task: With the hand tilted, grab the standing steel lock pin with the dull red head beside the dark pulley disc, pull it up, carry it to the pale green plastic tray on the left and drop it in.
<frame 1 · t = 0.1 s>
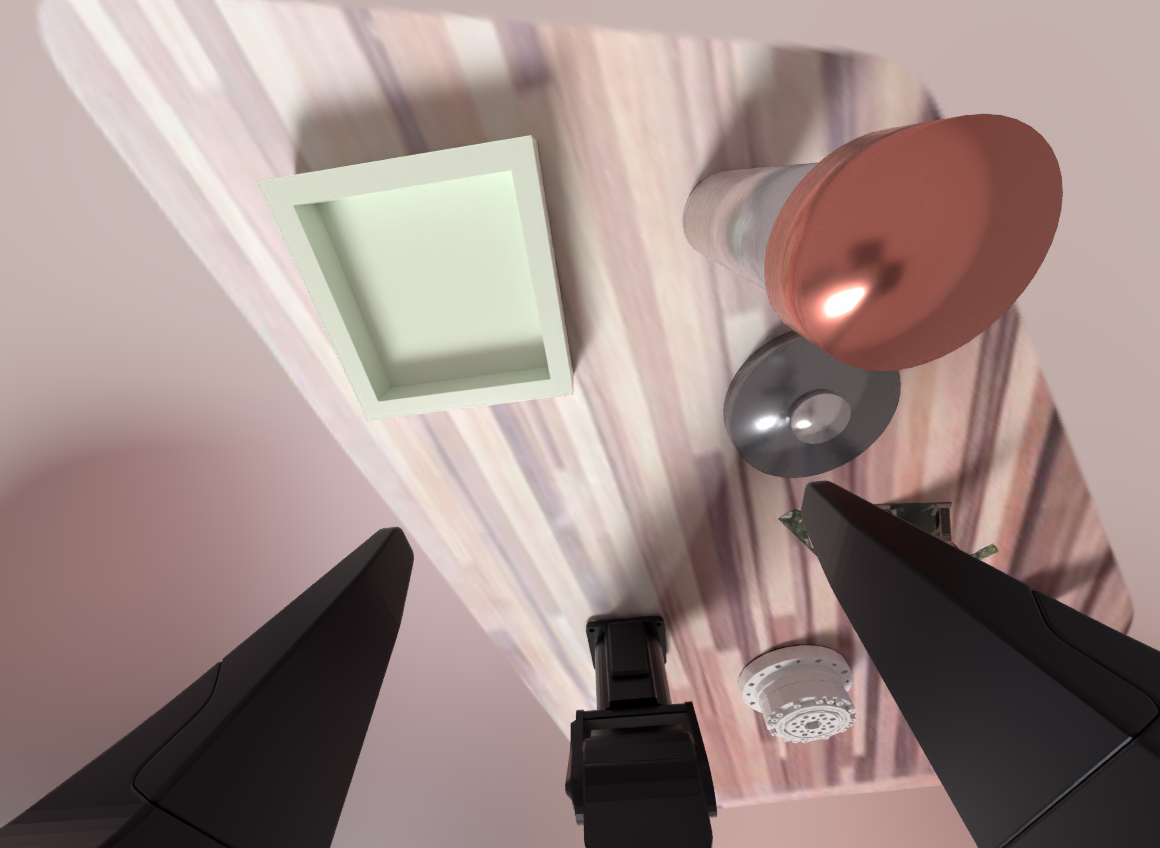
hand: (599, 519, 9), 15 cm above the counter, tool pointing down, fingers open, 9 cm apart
tray: (450, 289, 21), on the counter
eiffel tower figurine: (884, 526, 30), on the counter
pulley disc: (801, 400, 24), on the counter
mechanical component: (789, 670, 39), on the counter
lock pin: (721, 215, 19), on the counter
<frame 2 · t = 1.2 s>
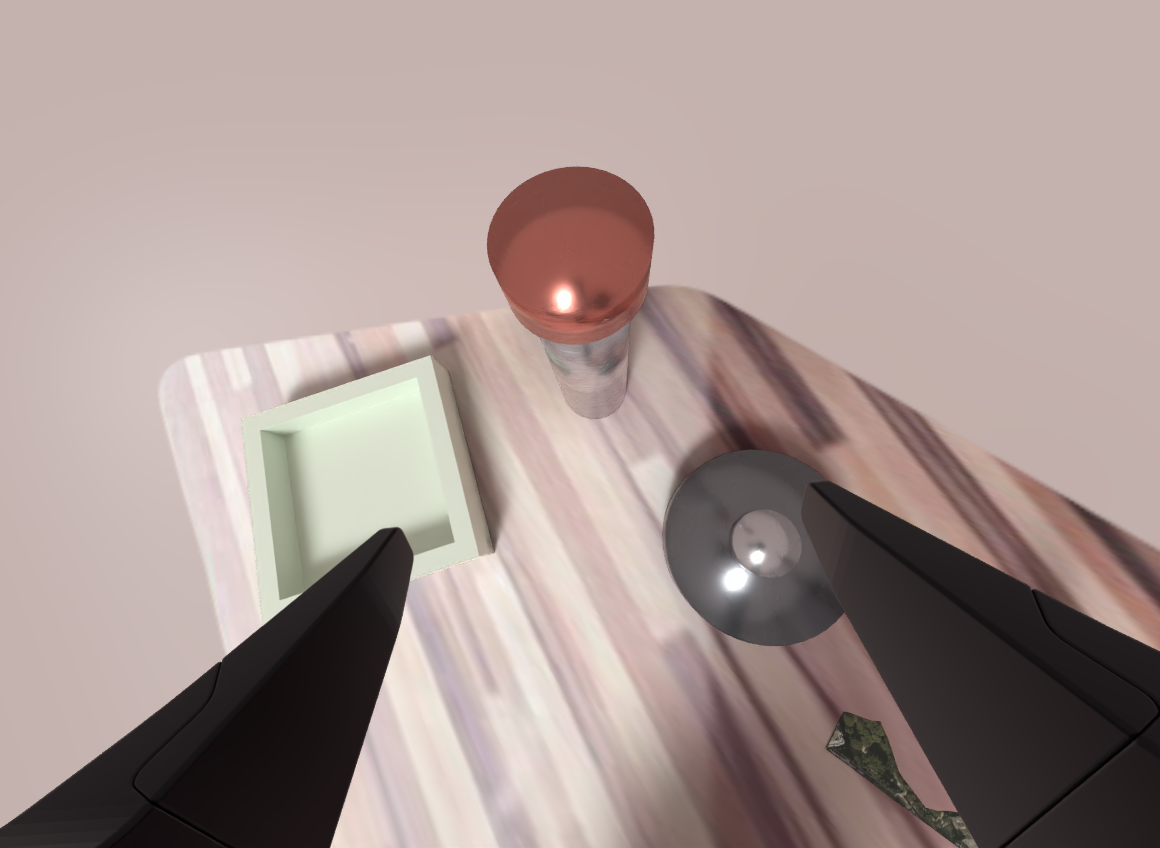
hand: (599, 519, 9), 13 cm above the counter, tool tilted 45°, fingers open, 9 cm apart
tray: (379, 487, 24), on the counter
eiffel tower figurine: (1018, 750, 19), on the counter
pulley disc: (751, 541, 21), on the counter
lock pin: (594, 388, 24), on the counter
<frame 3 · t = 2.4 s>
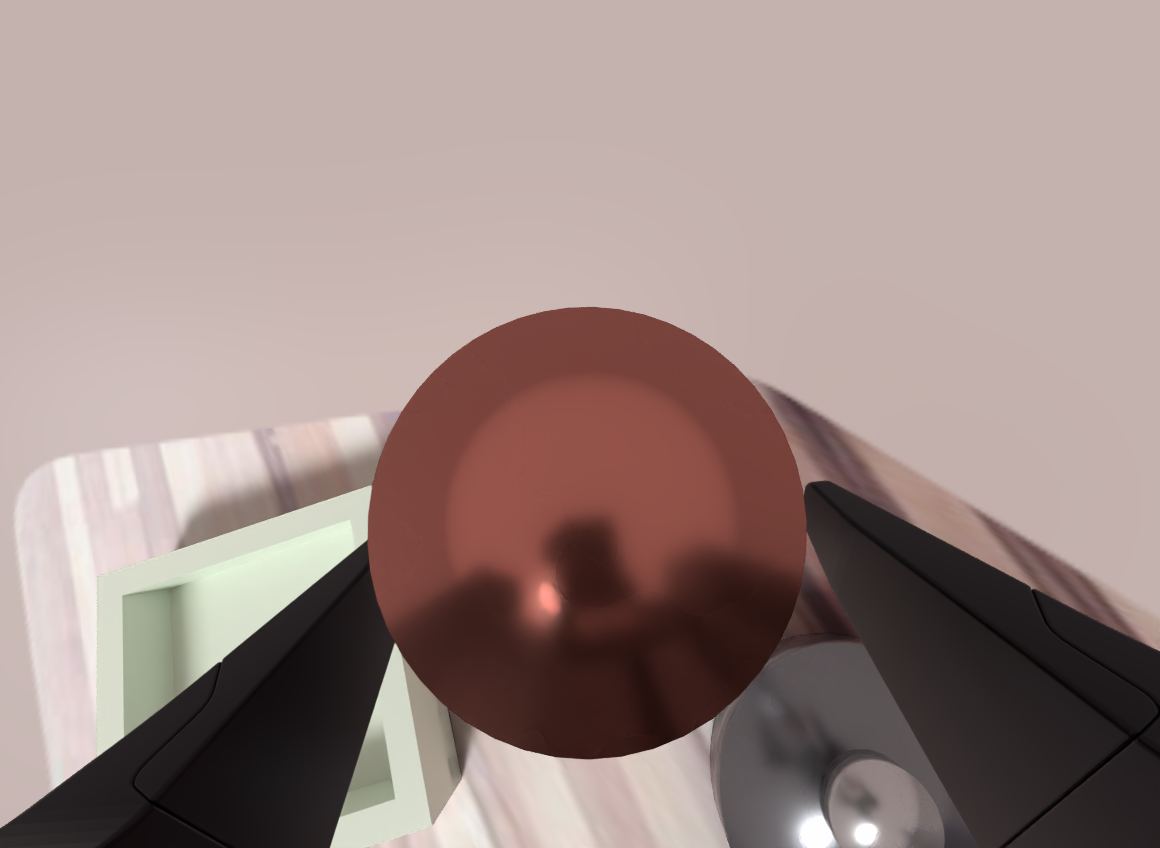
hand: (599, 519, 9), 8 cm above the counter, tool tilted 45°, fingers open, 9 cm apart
tray: (301, 665, 17), on the counter
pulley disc: (845, 777, 14), on the counter
lock pin: (607, 522, 17), on the counter
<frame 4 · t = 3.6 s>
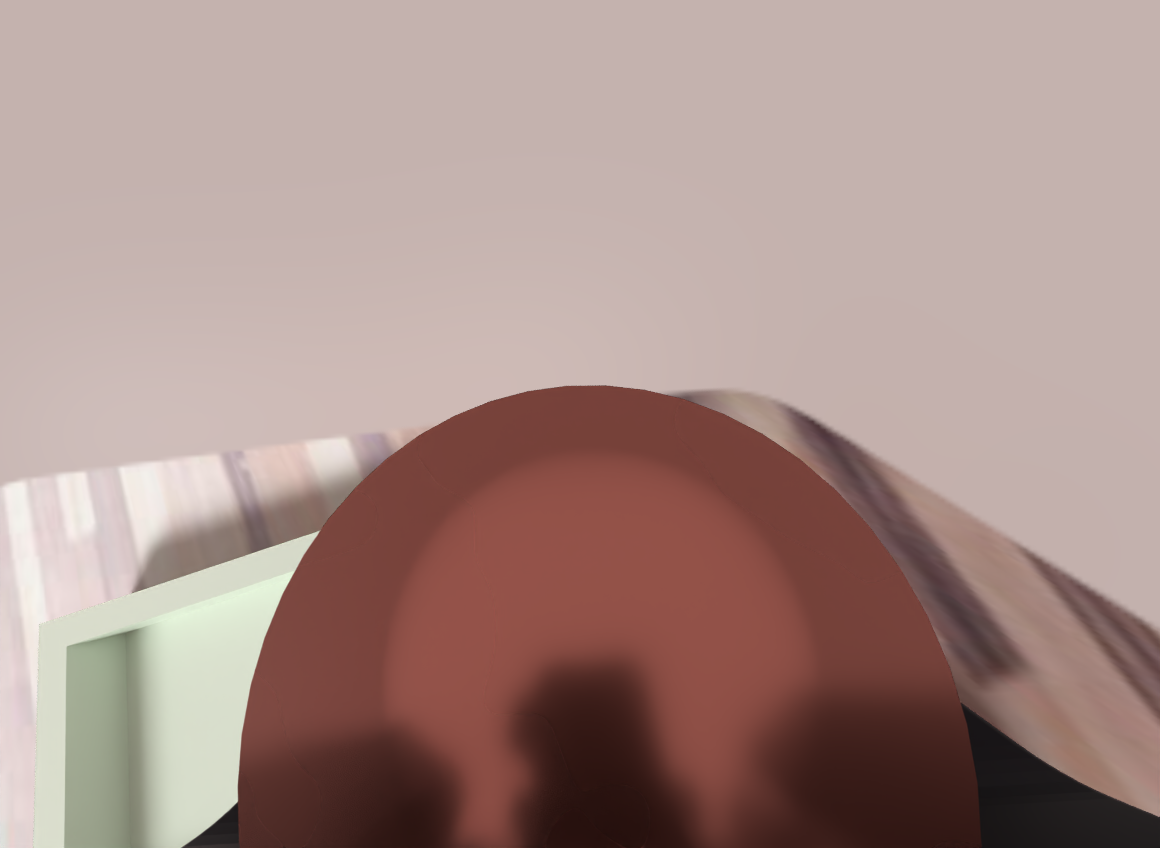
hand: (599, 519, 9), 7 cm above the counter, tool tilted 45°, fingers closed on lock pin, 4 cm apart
tray: (270, 718, 15), on the counter
lock pin: (610, 560, 15), on the counter, touching gripper
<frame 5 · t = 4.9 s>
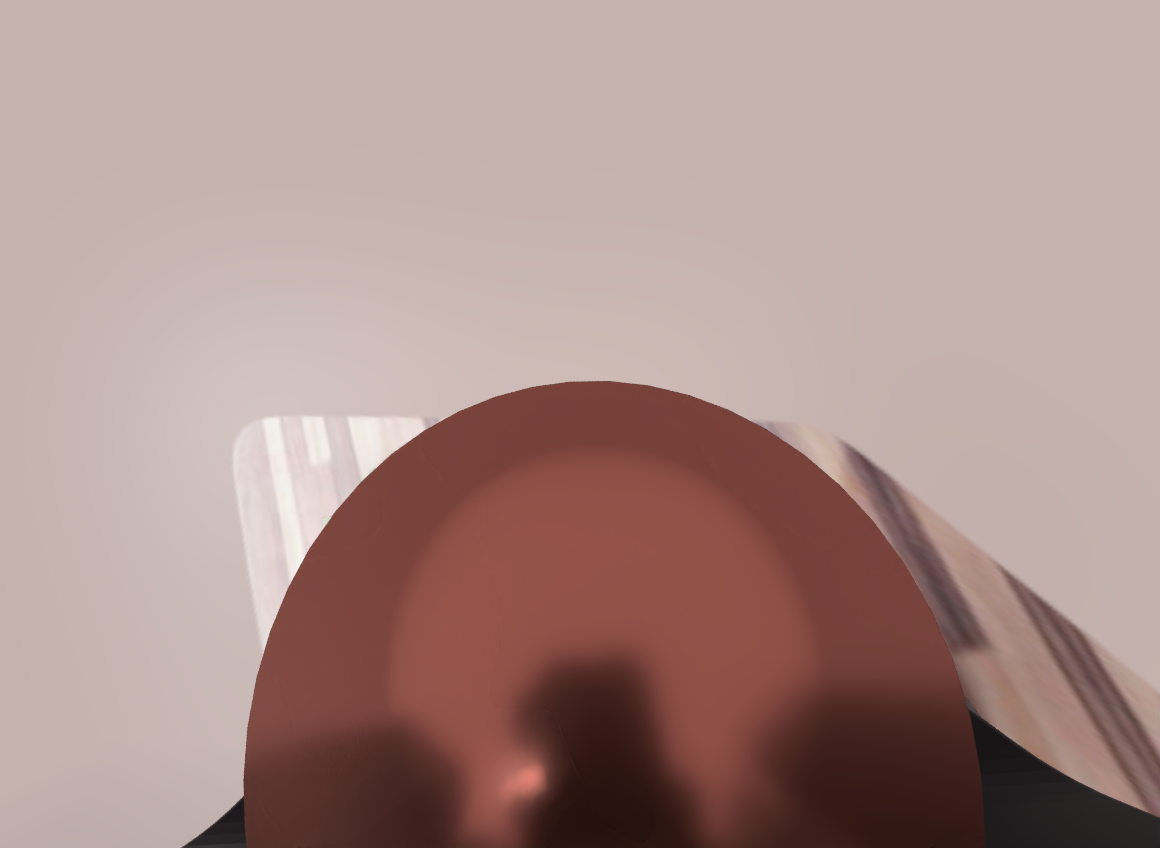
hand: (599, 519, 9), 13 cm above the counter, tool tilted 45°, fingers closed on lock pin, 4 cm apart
lock pin: (611, 559, 15), point 7 cm above the counter, touching gripper
when the fingers open (9 cm above the counter, at t = 6.6 s): lock pin drops 1 cm, resting on tray.
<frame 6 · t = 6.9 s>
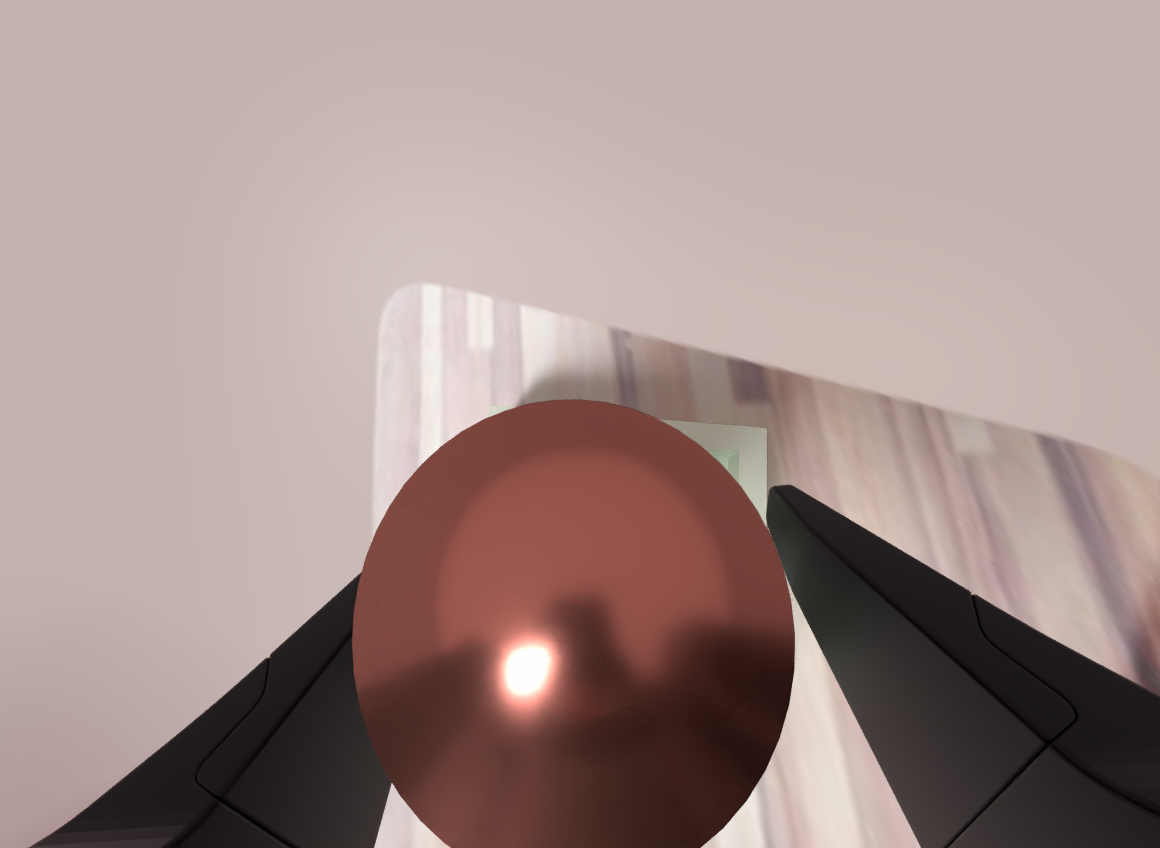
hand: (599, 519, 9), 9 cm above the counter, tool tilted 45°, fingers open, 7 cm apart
tray: (612, 555, 18), on the counter
lock pin: (612, 560, 17), point 1 cm above the counter, touching tray
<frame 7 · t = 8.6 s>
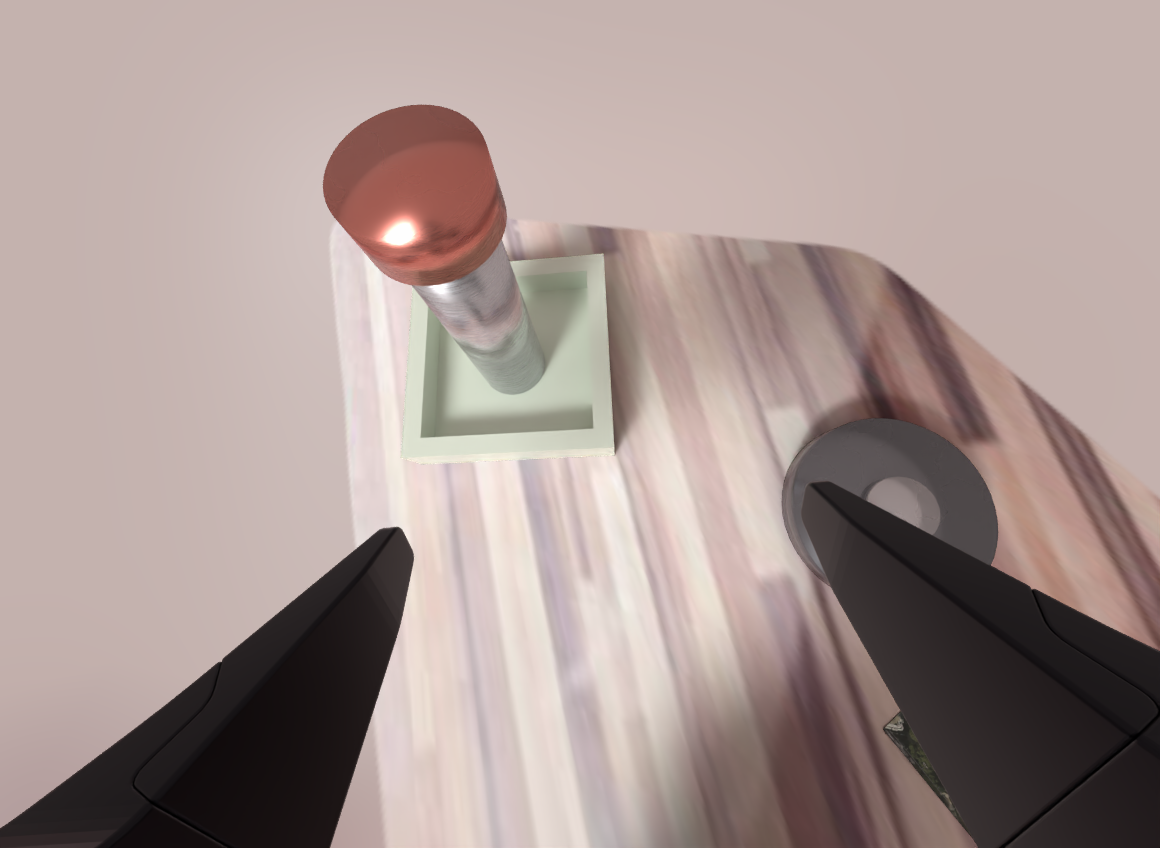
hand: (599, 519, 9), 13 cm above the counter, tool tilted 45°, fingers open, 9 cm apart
tray: (517, 368, 25), on the counter
eiffel tower figurine: (1079, 799, 18), on the counter
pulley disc: (873, 511, 21), on the counter
lock pin: (514, 365, 24), point 1 cm above the counter, touching tray
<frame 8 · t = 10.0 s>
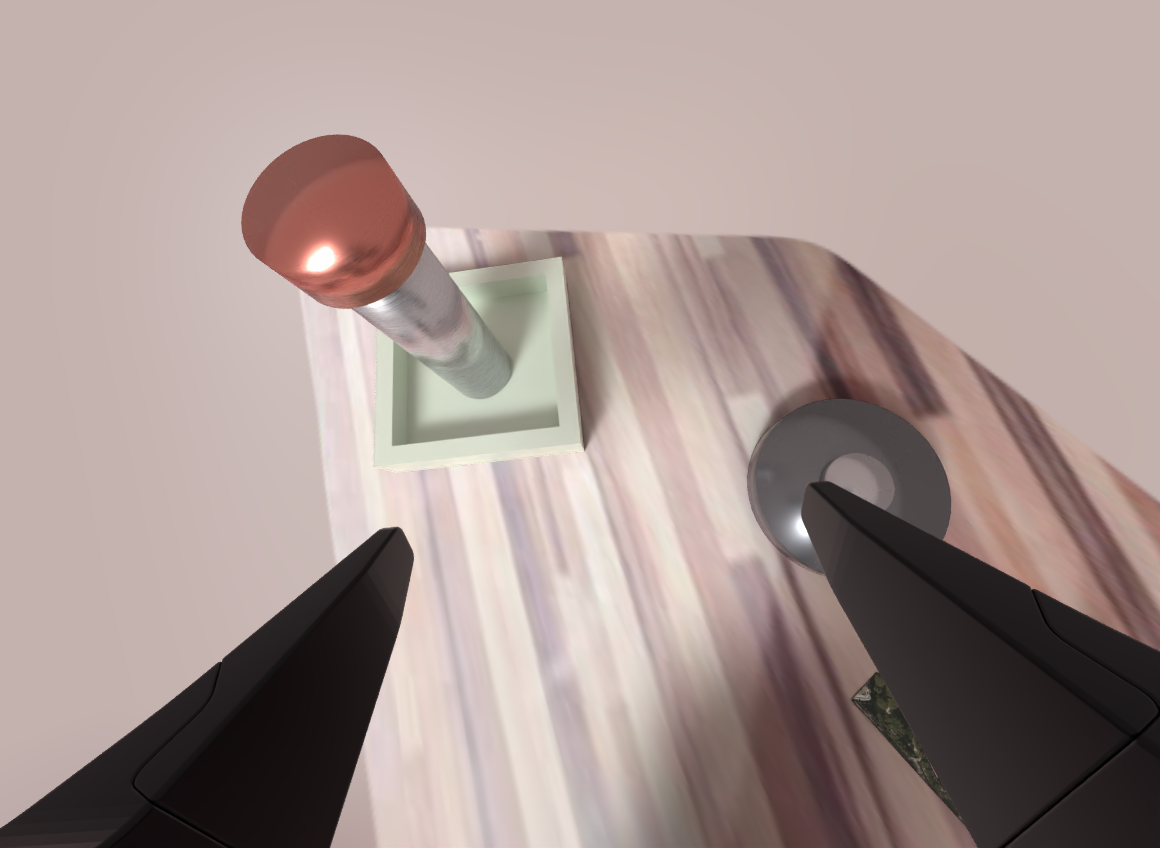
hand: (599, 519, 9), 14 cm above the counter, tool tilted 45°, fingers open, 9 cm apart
tray: (485, 373, 25), on the counter
eiffel tower figurine: (1042, 755, 19), on the counter
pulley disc: (835, 488, 22), on the counter
lock pin: (481, 370, 24), point 1 cm above the counter, touching tray
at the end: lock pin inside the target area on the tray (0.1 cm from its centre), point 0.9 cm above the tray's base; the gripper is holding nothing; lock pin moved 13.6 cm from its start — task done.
